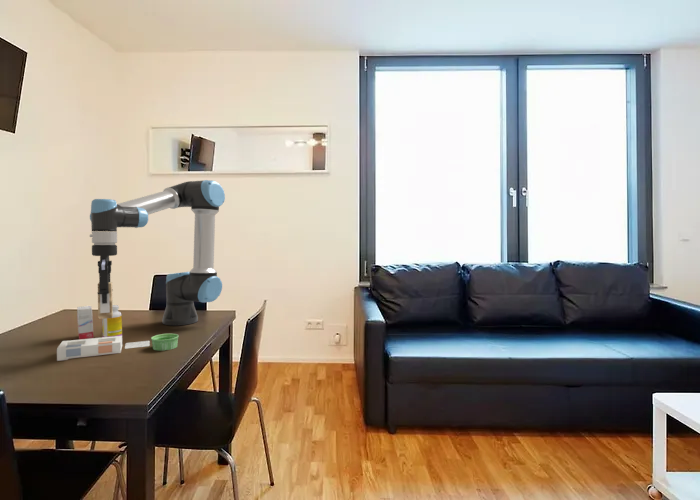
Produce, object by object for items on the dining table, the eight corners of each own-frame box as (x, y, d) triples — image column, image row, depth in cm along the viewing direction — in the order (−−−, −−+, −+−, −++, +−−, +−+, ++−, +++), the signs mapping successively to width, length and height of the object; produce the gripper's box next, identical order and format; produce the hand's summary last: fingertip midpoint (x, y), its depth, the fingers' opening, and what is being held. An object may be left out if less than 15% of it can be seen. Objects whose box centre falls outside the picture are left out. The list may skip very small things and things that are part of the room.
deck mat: (149, 341, 157) (149, 340, 157) (149, 347, 150) (149, 345, 150) (125, 344, 153) (125, 343, 153) (124, 349, 146) (124, 348, 146)
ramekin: (151, 346, 151) (151, 334, 151) (178, 344, 154) (178, 332, 154) (150, 353, 142) (150, 340, 142) (178, 350, 146) (178, 338, 146)
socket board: (122, 346, 150) (122, 334, 150) (120, 354, 141) (120, 341, 141) (62, 352, 142) (62, 340, 142) (57, 361, 133) (56, 347, 133)
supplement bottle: (126, 337, 163) (125, 305, 162) (111, 341, 157) (110, 308, 156) (113, 335, 165) (112, 304, 165) (98, 339, 159) (97, 306, 158)
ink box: (93, 338, 160) (92, 308, 160) (77, 340, 158) (77, 310, 157) (92, 334, 168) (92, 305, 167) (77, 335, 165) (77, 306, 164)
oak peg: (112, 315, 146) (112, 282, 145) (111, 318, 142) (111, 283, 142) (99, 316, 144) (98, 282, 143) (98, 318, 140) (97, 283, 140)
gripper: (94, 243, 148) (95, 308, 149) (88, 244, 133) (89, 316, 134) (118, 243, 151) (119, 306, 152) (115, 244, 136) (116, 315, 137)
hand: (105, 311), depth 143 cm, fingers closed on oak peg, 4 cm apart
